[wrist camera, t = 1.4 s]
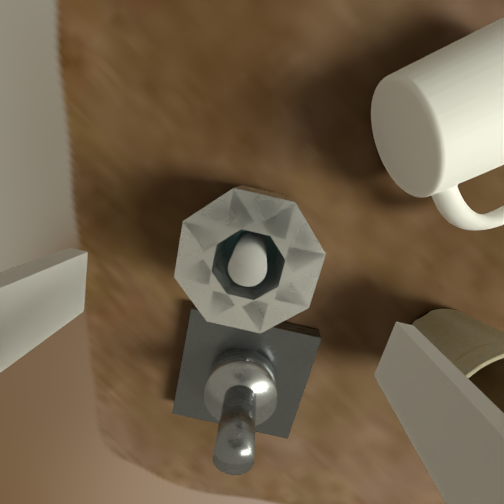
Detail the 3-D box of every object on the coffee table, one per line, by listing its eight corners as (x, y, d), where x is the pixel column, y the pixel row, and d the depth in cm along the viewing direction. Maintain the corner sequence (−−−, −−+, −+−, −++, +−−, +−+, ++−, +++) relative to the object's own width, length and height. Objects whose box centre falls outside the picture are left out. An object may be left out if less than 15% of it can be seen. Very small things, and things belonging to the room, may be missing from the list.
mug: (358, 97, 21) (414, 51, 13) (495, 29, 19) (650, -69, 11) (405, 238, 23) (473, 268, 16) (528, 188, 22) (671, 194, 14)
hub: (195, 301, 26) (158, 367, 17) (318, 329, 26) (346, 409, 17) (177, 401, 29) (137, 501, 20) (286, 425, 29) (295, 536, 20)
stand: (221, 192, 23) (201, 199, 16) (302, 210, 23) (319, 226, 16) (206, 268, 25) (183, 306, 18) (281, 285, 25) (288, 330, 18)
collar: (209, 177, 22) (189, 177, 16) (319, 202, 22) (338, 212, 16) (191, 280, 24) (168, 312, 18) (290, 302, 24) (298, 341, 18)
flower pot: (377, 305, 25) (433, 369, 17) (485, 277, 24) (604, 332, 16) (395, 387, 27) (453, 480, 19) (495, 366, 26) (603, 454, 18)
